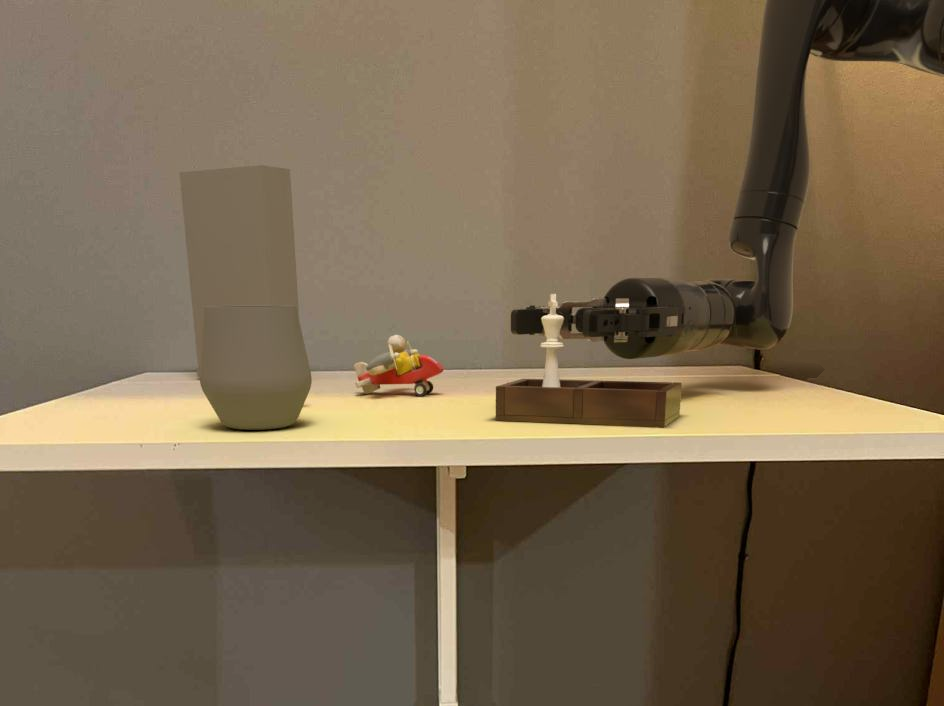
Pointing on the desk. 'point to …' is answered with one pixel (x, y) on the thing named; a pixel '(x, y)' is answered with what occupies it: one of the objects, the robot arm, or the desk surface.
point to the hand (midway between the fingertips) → (548, 323)
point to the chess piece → (552, 344)
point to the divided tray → (590, 402)
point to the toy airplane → (398, 368)
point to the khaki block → (238, 239)
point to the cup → (254, 365)
